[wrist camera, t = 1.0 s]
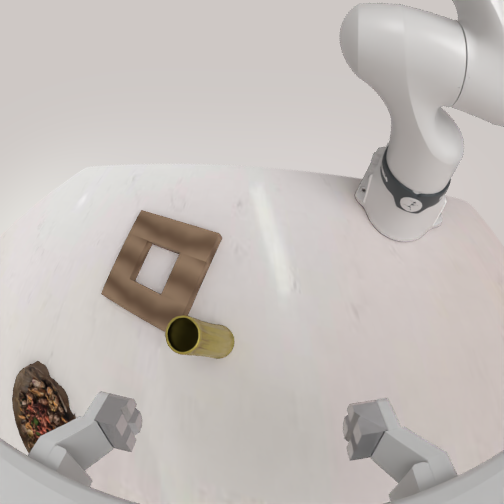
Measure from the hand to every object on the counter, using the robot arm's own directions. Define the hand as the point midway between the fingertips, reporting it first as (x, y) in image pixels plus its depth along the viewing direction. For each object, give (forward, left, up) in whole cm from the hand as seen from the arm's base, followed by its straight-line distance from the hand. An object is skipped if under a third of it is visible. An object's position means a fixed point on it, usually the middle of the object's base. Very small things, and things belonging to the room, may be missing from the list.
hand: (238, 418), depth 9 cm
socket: (-7, -33, -37) cm, 50 cm away
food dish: (+46, -51, -38) cm, 78 cm away
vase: (+1, -15, -38) cm, 40 cm away
